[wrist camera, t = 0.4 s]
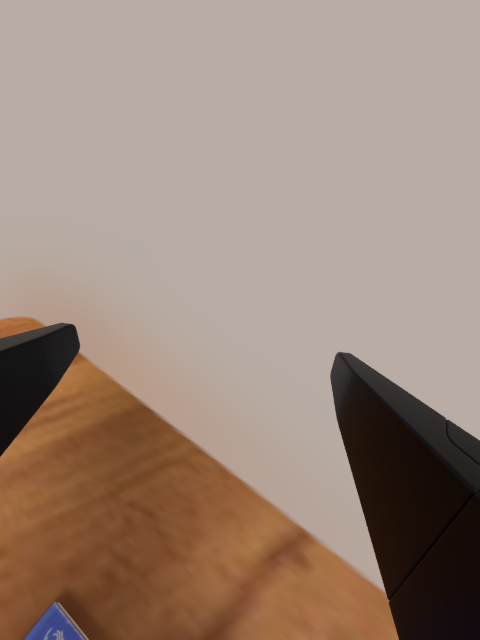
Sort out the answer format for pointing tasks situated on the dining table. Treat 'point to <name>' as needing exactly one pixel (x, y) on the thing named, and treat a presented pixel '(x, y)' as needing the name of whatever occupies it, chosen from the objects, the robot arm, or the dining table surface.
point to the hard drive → (56, 626)
